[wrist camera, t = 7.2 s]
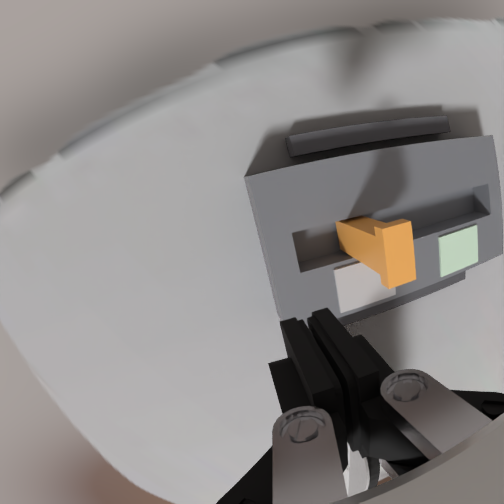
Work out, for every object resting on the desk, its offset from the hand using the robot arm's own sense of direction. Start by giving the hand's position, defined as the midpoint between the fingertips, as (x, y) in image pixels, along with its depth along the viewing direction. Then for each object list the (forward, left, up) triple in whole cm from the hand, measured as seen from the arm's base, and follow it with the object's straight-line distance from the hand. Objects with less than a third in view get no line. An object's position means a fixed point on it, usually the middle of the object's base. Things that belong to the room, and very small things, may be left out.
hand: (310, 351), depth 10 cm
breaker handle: (-7, 0, -14) cm, 16 cm away
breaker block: (-12, 0, -16) cm, 20 cm away
